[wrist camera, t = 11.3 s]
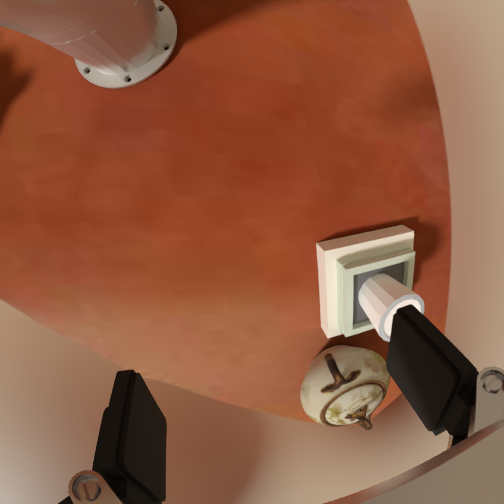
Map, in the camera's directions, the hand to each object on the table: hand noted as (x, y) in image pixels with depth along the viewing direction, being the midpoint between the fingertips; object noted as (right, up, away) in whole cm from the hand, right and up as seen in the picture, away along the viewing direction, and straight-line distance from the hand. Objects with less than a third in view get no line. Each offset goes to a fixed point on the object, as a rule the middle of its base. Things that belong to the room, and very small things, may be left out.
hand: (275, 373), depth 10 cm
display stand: (+16, 0, +33) cm, 37 cm away
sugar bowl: (+13, -15, +39) cm, 44 cm away
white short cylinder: (+16, -1, +29) cm, 33 cm away
